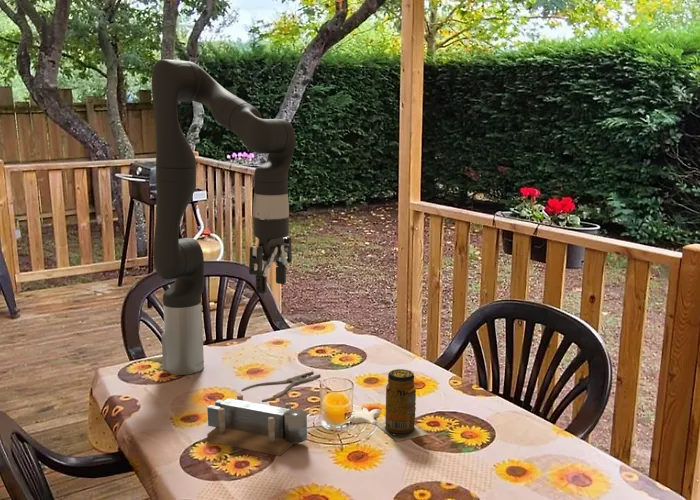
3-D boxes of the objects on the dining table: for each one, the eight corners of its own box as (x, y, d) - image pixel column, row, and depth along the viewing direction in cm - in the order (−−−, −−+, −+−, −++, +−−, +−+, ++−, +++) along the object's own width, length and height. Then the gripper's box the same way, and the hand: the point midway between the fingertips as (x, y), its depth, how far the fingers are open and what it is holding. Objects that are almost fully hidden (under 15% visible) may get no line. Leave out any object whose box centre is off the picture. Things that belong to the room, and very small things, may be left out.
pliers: (235, 391, 157) (292, 365, 173) (235, 394, 157) (292, 368, 173) (266, 401, 152) (322, 373, 167) (266, 405, 152) (322, 377, 168)
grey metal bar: (207, 426, 137) (206, 403, 136) (219, 417, 141) (218, 394, 140) (301, 444, 129) (300, 420, 128) (310, 434, 133) (310, 411, 132)
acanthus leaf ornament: (344, 426, 142) (344, 418, 141) (347, 412, 148) (347, 404, 148) (380, 427, 141) (380, 418, 141) (381, 413, 148) (381, 405, 148)
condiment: (406, 418, 144) (407, 364, 142) (427, 435, 137) (429, 378, 135) (376, 425, 141) (376, 370, 139) (396, 442, 134) (397, 385, 131)
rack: (207, 441, 134) (206, 410, 133) (234, 420, 143) (233, 391, 142) (279, 456, 128) (279, 423, 127) (302, 433, 137) (302, 403, 136)
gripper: (272, 208, 152) (272, 278, 156) (237, 217, 140) (238, 294, 143) (302, 211, 150) (301, 282, 153) (269, 221, 137) (270, 298, 140)
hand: (271, 288), depth 148 cm, fingers open, 8 cm apart
